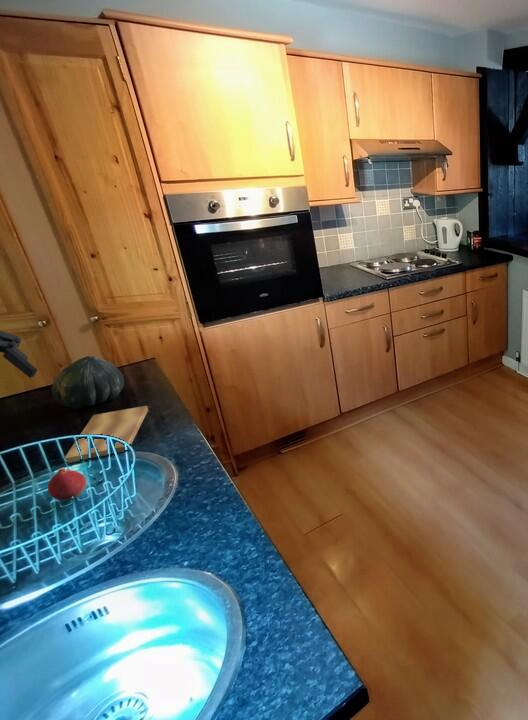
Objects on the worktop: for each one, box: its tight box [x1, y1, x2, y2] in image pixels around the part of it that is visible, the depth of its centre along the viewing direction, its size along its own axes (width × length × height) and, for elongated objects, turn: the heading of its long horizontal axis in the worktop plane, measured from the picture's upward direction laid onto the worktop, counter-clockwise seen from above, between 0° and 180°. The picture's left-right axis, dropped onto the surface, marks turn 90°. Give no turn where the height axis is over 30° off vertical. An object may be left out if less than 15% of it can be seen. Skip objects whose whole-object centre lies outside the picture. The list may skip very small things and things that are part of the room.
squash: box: [51, 355, 125, 409], centre depth 130 cm, size 14×15×15 cm
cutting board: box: [64, 405, 149, 464], centre depth 118 cm, size 12×20×2 cm, turn 25°
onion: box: [47, 467, 88, 501], centre depth 96 cm, size 6×6×8 cm
